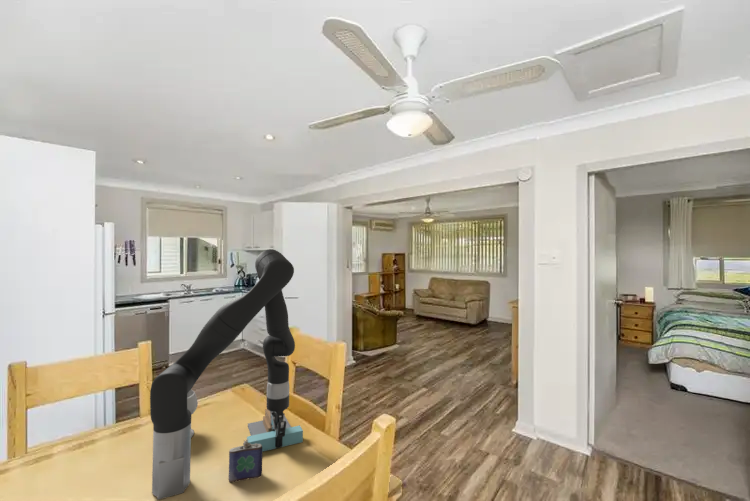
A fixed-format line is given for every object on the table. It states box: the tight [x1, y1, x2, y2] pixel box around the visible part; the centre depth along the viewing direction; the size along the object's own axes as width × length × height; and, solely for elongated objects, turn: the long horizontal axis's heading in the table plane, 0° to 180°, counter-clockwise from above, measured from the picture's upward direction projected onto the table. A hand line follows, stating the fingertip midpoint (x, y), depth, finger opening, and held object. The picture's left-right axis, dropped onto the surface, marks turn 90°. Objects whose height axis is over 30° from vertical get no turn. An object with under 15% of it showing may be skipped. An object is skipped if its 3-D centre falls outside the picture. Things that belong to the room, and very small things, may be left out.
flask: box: [228, 438, 263, 483], centre depth 103 cm, size 9×3×11 cm, turn 109°
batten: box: [246, 425, 304, 453], centre depth 120 cm, size 4×18×4 cm, turn 117°
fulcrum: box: [247, 408, 292, 436], centre depth 129 cm, size 14×14×6 cm
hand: (277, 443), depth 120 cm, fingers closed on batten, 4 cm apart
